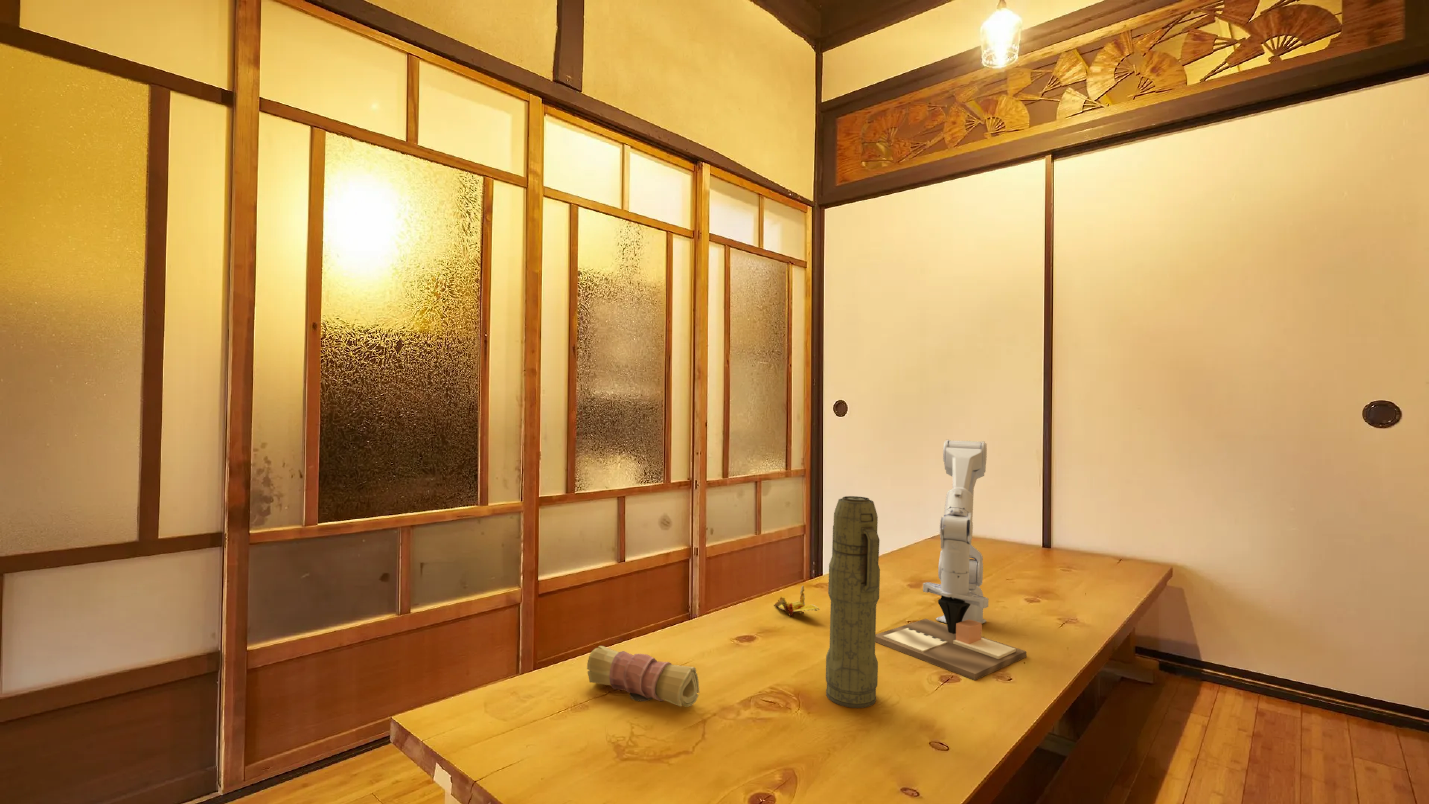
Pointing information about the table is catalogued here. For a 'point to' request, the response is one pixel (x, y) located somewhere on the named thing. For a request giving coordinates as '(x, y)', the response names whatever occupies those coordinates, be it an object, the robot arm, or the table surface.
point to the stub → (979, 640)
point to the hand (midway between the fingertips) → (953, 632)
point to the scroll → (643, 676)
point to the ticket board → (943, 649)
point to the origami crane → (795, 605)
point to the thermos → (853, 604)
